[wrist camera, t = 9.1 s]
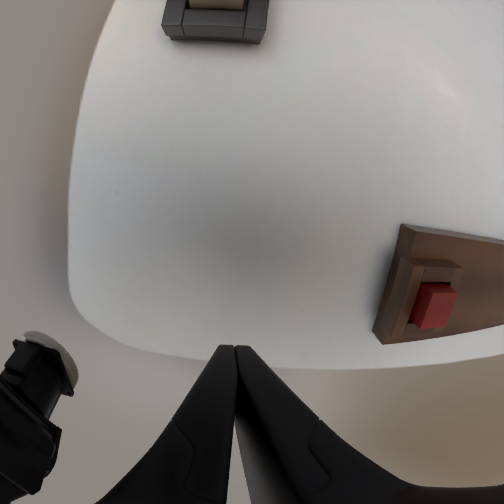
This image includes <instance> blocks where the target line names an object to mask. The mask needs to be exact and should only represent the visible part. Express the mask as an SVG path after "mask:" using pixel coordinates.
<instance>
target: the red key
mask: <svg viewBox="0 0 504 504" xmlns="http://www.w3.org/2000/svg"><path fill="white" fill-rule="evenodd" d="M457 295H458V292H457V291H455V290H454V289H453V288H451V287H450V286H448V285H447V284H446V283H435V284H429V283H421V284H420V287H419V290H418V293H417V296H416V299H415V302H414V305H413V308H412V311H411V314H410V317H409V319H410V320H411V321H412V322H413V323H414V324H415V325H416V326H417V327H418V328H419V329H429V328H437V327H444V326H446V324H447V321H448V319H449V316H450V314H451V311H452V309H453V306H454V303H455V301H456V298H457Z"/></svg>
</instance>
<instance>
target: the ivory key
mask: <svg viewBox="0 0 504 504" xmlns="http://www.w3.org/2000/svg"><path fill="white" fill-rule="evenodd" d="M243 2H244V0H189V3H190V8H206V9H229V10H242V8H243Z"/></svg>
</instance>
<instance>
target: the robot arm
mask: <svg viewBox="0 0 504 504" xmlns="http://www.w3.org/2000/svg"><path fill="white" fill-rule="evenodd" d="M13 346H14V348H15V351H14V353H13V354H12V355H11V356H10V358H9V359H8V360H7V362H6V363H5V365H4V366H5V369H4V370H3V371H2V373H1V374H0V504H10V503H11V502H12V501H14V500H16V499H18V498H21V497H23V496H25V495H27V494H30V495H34V494H35V493H37V492H38V491H40V489H41V486H42V482H43V479H44V478H45V477H46V476H48V474H50V472H51V471H52V469H53V467H54V465H55V463H56V459H57V454H58V448H59V442H60V438H61V433H62V429H60V428H59V427H58V426H56V425H54V424H53V423H52V422H51V421H49V418H50V416H51V414H52V412H53V410H54V408H55V405H56V403H57V401H58V399H59V397H60V395H61V394H63V395H67V396H70V397H72V396H73V395H74V390H73V388H72V385H71V383H70V380H69V378H68V375H67V372H66V369H65V367H64V364H63V361H62V358H61V355H60V353H59V351H58V350H56V349H52V348H48V347H44V346H40V345H36V344H32V343H28V342H24V341H21V340H17V339H15V340H14V341H13ZM234 423H235V428H236V434H237V438H238V443H239V449H240V454H241V458H242V463H243V468H244V473H245V477H246V482H247V486H248V491H249V495H250V499H251V504H504V484H503V485H498V486H489V487H471V488H470V487H469V488H445V487H424V486H418V485H414V484H411V483H408V482H405V481H403V480H401V479H399V478H397V477H396V476H394V475H393V474H391V473H389V472H388V471H386V470H385V469H383V468H382V467H380V466H379V465H377V464H376V463H374V462H373V461H371V460H370V459H368V458H367V457H365V456H364V455H363V454H361V453H360V452H358V451H357V450H356V449H354V448H353V447H352V446H350V445H349V444H348V443H346V442H345V441H344V440H343V439H341V438H340V437H339V436H338V435H337V434H336V433H335V432H334V431H333V430H331V429H330V428H329V427H328V426H327V425H326V424H325V423H324V422H323V421H322V420H319V417H318V416H317V415H316V414H315V413H313V411H312V410H310V408H308V407H307V406H306V405H305V404H304V403H303V402H302V401H301V400H300V399H299V397H298V396H296V394H295V393H294V392H293V391H291V389H290V388H289V387H288V386H287V385H286V384H285V383H284V382H283V381H282V380H281V379H280V378H279V377H278V376H277V375H276V374H275V373H274V372H273V371H272V370H271V368H270V367H269V366H268V365H267V364H266V363H265V362H264V361H263V360H262V359H261V358H260V357H259V356H258V355H257V353H256V352H255V351H254V350H253V349H252V348H251V347H250V346H247V345H236V346H235V347H234V346H233V345H219V346H218V348H217V349H216V351H215V352H214V354H213V355H212V357H211V359H210V360H209V362H208V363H207V365H206V367H205V368H204V370H203V371H202V373H201V374H200V376H199V377H198V379H197V381H196V382H195V384H194V385H193V387H192V388H191V390H190V391H189V393H188V394H187V396H186V398H185V399H184V401H183V402H182V404H181V405H180V407H179V408H178V410H177V411H176V413H175V415H174V416H173V418H172V419H171V421H170V422H169V423H168V425H167V426H166V428H165V429H164V431H163V432H162V434H161V435H160V436H159V438H158V439H157V441H156V442H155V443H154V445H153V446H152V447H151V448H150V449H149V451H148V452H147V453H146V454H145V455H144V456H143V457H142V459H141V460H140V461H139V462H138V463H137V464H136V465H135V466H134V467H133V468H132V469H131V470H130V471H129V472H128V473H127V475H125V476H124V477H123V478H122V479H121V480H120V481H119V482H118V483H117V484H116V485H115V486H114V487H113V489H111V490H110V491H109V492H108V493H107V494H106V495H105V496H104V497H103V498H102V499H100V500H99V501H98V502H96V503H95V504H226V502H227V501H226V500H227V490H228V480H229V469H230V459H231V448H232V438H233V427H234Z"/></svg>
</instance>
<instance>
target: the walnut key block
mask: <svg viewBox="0 0 504 504" xmlns="http://www.w3.org/2000/svg"><path fill="white" fill-rule="evenodd" d="M421 283H429V284H435V283H446V284H447V285H448V286H450V287H451V288H453V289H454V290H455V291H457V292H458V295H457V298H456V301H455V303H454V306H453V309H452V311H451V314H450V316H449V319H448V321H447V324H446V326H444V327H437V328H429V329H419V328H418V327H417V326H416V325H415V324H414V323H413V322H412V321H411V320H410V319H409V317H410V314H411V311H412V308H413V305H414V302H415V299H416V296H417V293H418V290H419V287H420V284H421ZM503 324H504V241H503V240H497V239H492V238H487V237H481V236H475V235H470V234H464V233H458V232H452V231H446V230H439V229H433V228H426V227H419V226H412V225H405V224H401V227H400V231H399V236H398V241H397V245H396V249H395V254H394V258H393V262H392V266H391V270H390V274H389V277H388V281H387V285H386V288H385V292H384V295H383V298H382V302H381V305H380V308H379V312H378V315H377V318H376V321H375V324H374V327H373V330H372V332H373V333H374V334H375V336H376V337H377V338H378V340H379V341H380V342H381V344H382V345H385V344H394V343H403V342H410V341H418V340H425V339H432V338H438V337H444V336H450V335H456V334H461V333H467V332H472V331H477V330H481V329H486V328H491V327H495V326H499V325H503Z"/></svg>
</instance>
